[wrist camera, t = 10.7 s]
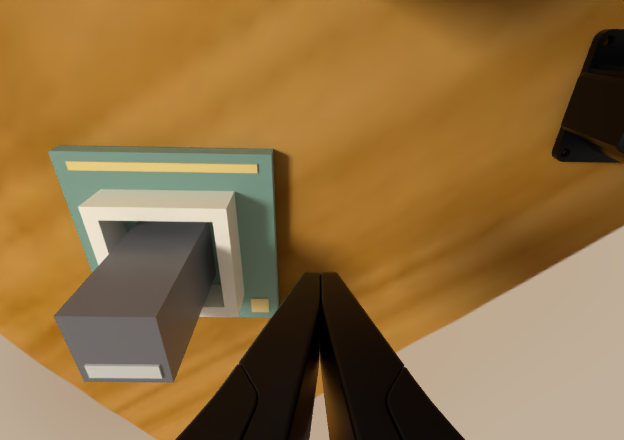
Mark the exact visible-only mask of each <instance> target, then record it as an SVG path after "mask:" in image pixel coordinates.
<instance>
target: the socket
mask: <svg viewBox="0 0 624 440" xmlns="http://www.w3.org/2000/svg"><path fill="white" fill-rule="evenodd" d="M78 208H79V211H80V214H81V217H82V220H83V223H84V226H85V228H86V231H87V234H88V237H89V240H90V243H91V246H92V249H93V251H94V254H95V257H96V260H97V263H98V266H99V265H100V264H101V262H102V261H103V260H104V259H105V258H106V257H107V256H108V255H109V253H110V252H111V251H112V250H113V249H114V248H115V247H116V246H117V244H118V243H119V242H120V241H121V240H122V239H123V238H124V237H125V236H126V234H127V231H126V227H125V224H124V221H171V222H213V229H214V236H215V243H216V250H217V258H218V265H219V272H220V279H221V284H211V287H210V290H209V292H208V295H207V297H206V300H205V303H204V305H203V308H202V310H201V313H200V315H199V317H239V314H240V310H241V306H242V302H243V298H244V294H245V293H244V283H243V272H242V262H241V252H240V242H239V232H238V222H237V212H236V202H235V192H234V191H189V190H123V189H100V190H99V191H98V192H96V193H95V194H94V195H92V196H91V197H90V198H88V199H87V200H86V201H85V202H83V203H82V204H81V205H79V206H78Z"/></svg>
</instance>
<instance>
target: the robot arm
mask: <svg viewBox="0 0 624 440" xmlns="http://www.w3.org/2000/svg"><path fill="white" fill-rule="evenodd" d="M607 36H608V42H607V44H606V45H603V42H604V40H605V38H606V37H607ZM564 149H566V151H565V152H564V153H563V154H562V155H561V152H562V151H563V150H564ZM552 156H553V157H554V158H555V159H557V160H559V161H562V162H622V163H624V29H605V30H602V31H600V32H599V33H598V34H597V35H596V36H595V37H594V39H593V41H592V44H591V46H590V49H589V52H588V55H587V57H586V60H585V63H584V66H583V68H582V71H581V74H580V76H579V78H578V80H577V83H576V85H575V88H574V91H573V94H572V96H571V99H570V102H569V104H568V107H567V110H566V113H565V115H564V118H563V121H562V124H561V128H560V131H559V134H558V136H557V139H556V142H555V145H554V147H553V150H552ZM319 356H320V363H321V373H322V381H323V389H324V398H325V406H326V414H327V422H328V430H329V438H330V440H465V439H464V438H463V437H462V436H461V435H460V434H459V432H458V431H457V430H456V429H455V428H454V427H453V426H452V425H451V423H450V422H449V421H448V420H447V419H446V418H445V417H444V415H443V414H442V413H441V412H440V411H439V410H438V408H437V407H436V406H435V405H434V404H433V403H432V401H431V400H430V399H429V397H428V396H427V395H426V394H425V392H424V391H423V390H422V389H421V387H420V386H419V385H418V383H417V382H416V381H415V380H414V378H413V376H412V375H411V374H410V372H409V371H408V370H407V368H405V367H404V364H403V363H402V361H401V360H400V359H399V357H398V356H397V355H396V353H395V352H394V350H393V349H392V348H391V346H390V345H389V344H388V342H387V341H386V339H385V338H384V337H383V335H382V334H381V333H380V331H379V330H378V328H377V327H376V326H375V324H374V323H373V321H372V320H371V319H370V317H369V316H368V315H367V313H366V312H365V310H364V309H363V308H362V306H361V305H360V304H359V302H358V301H357V299H356V298H355V297H354V295H353V294H352V293H351V291H350V290H349V288H348V287H347V286H346V284H345V283H344V282H343V280H342V279H341V277H340V276H339V275H338V273H336V272H322V273H321V278H320V273H319V272H304V273H303V274H302V276H301V277H300V278H299V280H298V281H297V283H296V284H295V285H294V287H293V288H292V290H291V291H290V292H289V294H288V295H287V296H286V298H285V299H284V301H283V302H282V303H281V305H280V306H279V308H278V309H277V310H276V312H275V313H274V315H273V316H272V317H271V319H270V320H269V321H268V323H267V324H266V326H265V327H264V328H263V330H262V331H261V333H260V334H259V335H258V337H257V338H256V339H255V341H254V342H253V344H252V345H251V346H250V348H249V349H248V351H247V352H246V353H245V355H244V356H243V358H242V359H241V360H240V362H239V364H238V365H237V366H236V367H235V368H234V370H233V371H232V373H231V374H230V375H229V377H228V378H227V379H226V381H225V382H224V383H223V385H222V386H221V387H220V389H219V390H218V391H217V392H216V394H215V395H214V396H213V398H212V399H211V400H210V401H209V402H208V403H207V405H206V406H205V407H204V408H203V409H202V410H201V412H200V413H199V414H198V415H197V416H196V417H195V418H194V420H193V421H192V422H191V423H190V424H189V425H188V426H187V427H186V428H185V430H184V431H183V432H182V433H181V434H180V435H179V436H178V437H177V438H176V440H309V438H310V430H311V422H312V414H313V407H314V399H315V392H316V384H317V376H318V368H319Z"/></svg>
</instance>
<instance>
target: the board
mask: <svg viewBox="0 0 624 440" xmlns="http://www.w3.org/2000/svg"><path fill="white" fill-rule="evenodd" d="M48 152H49V155H50V158H51V161H52V163H53V166H54V169H55V172H56V174H57V177H58V180H59V183H60V185H61V188H62V191H63V194H64V196H65V199H66V202H67V205H68V207H69V210H70V213H71V216H72V218H73V221H74V224H75V227H76V229H77V232H78V235H79V238H80V240H81V243H82V246H83V249H84V251H85V254H86V257H87V259H88V262H89V265H90V268H91V270H92V273H93V271H94V270H95V269H96V268H97V267H98V263H97V260H96V257H95V254H94V251H93V249H92V246H91V243H90V240H89V237H88V234H87V231H86V228H85V226H84V223H83V220H82V217H81V214H80V211H79V208H78V206H79V205H81V204H82V203H83V202H85V201H86V200H87V199H88V198H90V197H91V196H92V195H94V194H95V193H96V192H98V191H99V190H100V189H123V190H189V191H234V192H235V202H236V212H237V222H238V232H239V242H240V252H241V262H242V272H243V283H244V293H245V294H244V298H243V302H242V306H241V310H240V314H239V317H260V318H271V317H272V316H273V315H274V313H275V312H276V310H277V309H278V308H279V291H278V265H277V238H276V211H275V185H274V158H273V149H241V148H181V147H122V146H62V145H60V146H58V147H55V148H53V149H51V150H49V151H48ZM137 222H138V221H124V224H125V227H126V231H127V233H128V232H129V231H130V230H131V229H132V228H133V227H134V225H135V224H136V223H137ZM209 228H210V235H211V242H212V249H213V256H214V262H215V269H216V274H215V277H214V279H213V282H212V284H221V279H220V272H219V265H218V258H217V250H216V243H215V236H214V229H213V222H209Z"/></svg>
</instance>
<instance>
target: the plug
mask: <svg viewBox="0 0 624 440" xmlns="http://www.w3.org/2000/svg"><path fill="white" fill-rule="evenodd" d="M215 274H216V269H215V262H214V256H213V249H212V242H211V235H210V228H209V222H171V221H138V222H137V223H136V224H135V225H134V227H133V228H132V229H131V230H130V231H129V232H128V233H127V234H126V236H125V237H124V238H123V239H122V240H121V241H120V242H119V243H118V244H117V246H116V247H115V248H114V249H113V250H112V251H111V252H110V253H109V255H108V256H107V257H106V258H105V259H104V260H103V261H102V262H101V264H100V265H99V266H98V267H97V268H96V269H95V270H94V271H93V273H92V274H91V275H90V276H89V277H88V278H87V279H86V280H85V282H84V283H83V284H82V285H81V286H80V287H79V288H78V289H77V291H76V292H75V293H74V294H73V295H72V296H71V297H70V298H69V300H68V301H67V302H66V303H65V304H64V305H63V306H62V307H61V308H60V310H59V311H58V312H57V313H56V314H55V315H54V318H55V320H56V322H57V324H58V327H59V329H60V331H61V333H62V335H63V337H64V339H65V341H66V344H67V346H68V348H69V350H70V352H71V354H72V356H73V358H74V361H75V363H76V365H77V367H78V369H79V371H80V373H81V376H82V378H83V380H84V382H174V380H175V378H176V375H177V372H178V370H179V367H180V365H181V362H182V359H183V357H184V354H185V352H186V349H187V347H188V344H189V341H190V339H191V336H192V334H193V331H194V328H195V326H196V323H197V321H198V318H199V315H200V313H201V310H202V308H203V305H204V303H205V300H206V297H207V295H208V292H209V290H210V287H211V284H212V282H213V279H214V277H215Z"/></svg>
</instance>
